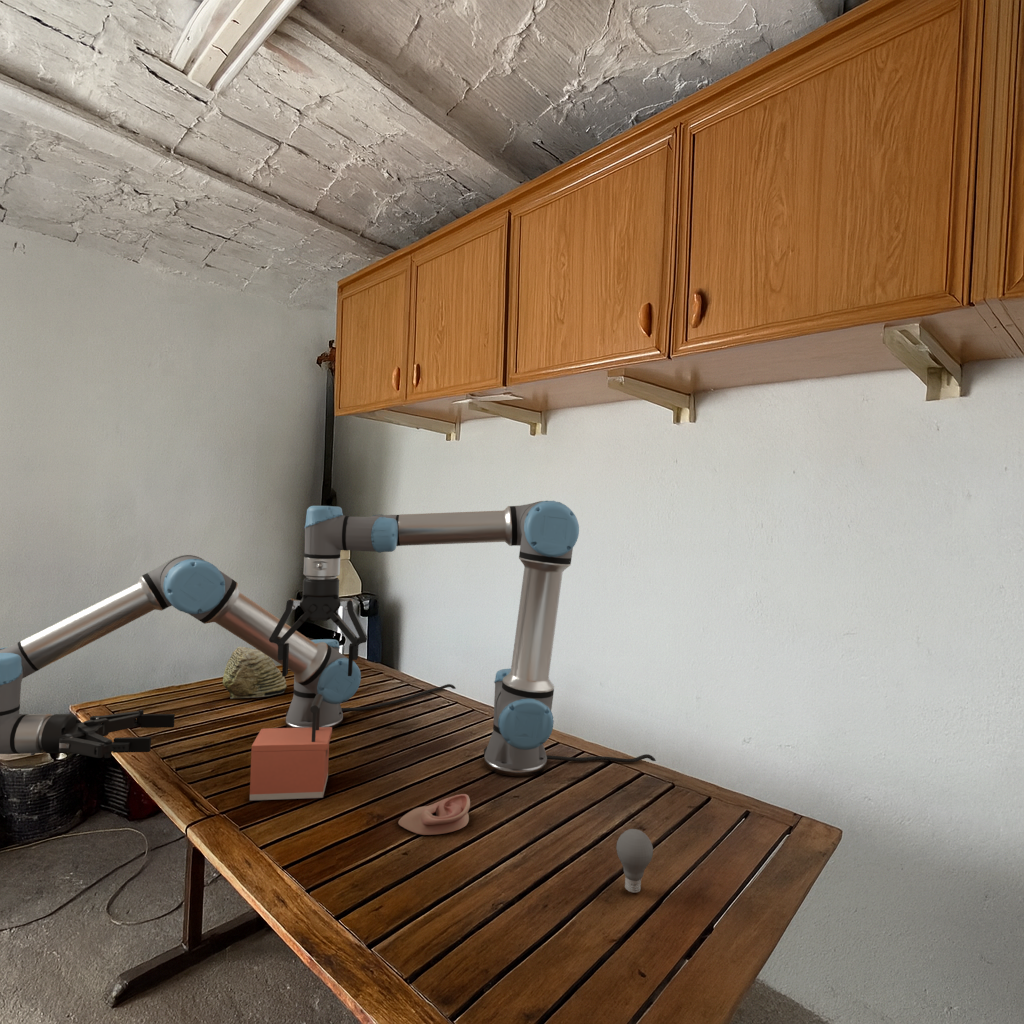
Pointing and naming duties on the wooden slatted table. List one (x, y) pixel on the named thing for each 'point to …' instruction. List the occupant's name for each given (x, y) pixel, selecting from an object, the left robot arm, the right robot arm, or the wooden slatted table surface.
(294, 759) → the chest
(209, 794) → the wooden slatted table surface
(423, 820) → the anatomical model
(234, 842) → the wooden slatted table surface
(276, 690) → the fossil
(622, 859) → the light bulb
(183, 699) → the wooden slatted table surface
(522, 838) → the wooden slatted table surface
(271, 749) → the lid
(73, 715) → the left robot arm
